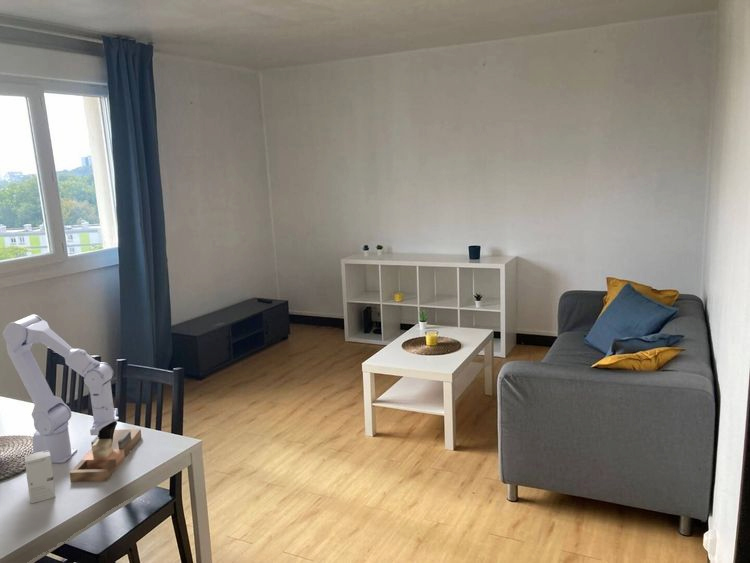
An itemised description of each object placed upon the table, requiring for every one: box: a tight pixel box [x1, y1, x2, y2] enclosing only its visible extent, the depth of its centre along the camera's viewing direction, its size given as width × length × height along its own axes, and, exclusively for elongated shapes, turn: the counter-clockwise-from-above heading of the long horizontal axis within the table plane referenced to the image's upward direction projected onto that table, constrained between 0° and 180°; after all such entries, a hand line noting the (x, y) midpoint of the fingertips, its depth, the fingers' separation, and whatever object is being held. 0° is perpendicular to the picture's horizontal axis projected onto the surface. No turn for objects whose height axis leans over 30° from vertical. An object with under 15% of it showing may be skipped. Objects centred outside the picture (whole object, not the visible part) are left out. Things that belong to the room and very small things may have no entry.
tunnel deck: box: [69, 428, 142, 483], centre depth 179 cm, size 10×26×6 cm, turn 1°
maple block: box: [91, 439, 113, 458], centre depth 176 cm, size 4×4×4 cm
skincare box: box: [23, 450, 56, 504], centre depth 159 cm, size 6×4×12 cm
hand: (107, 446), depth 179 cm, fingers closed
